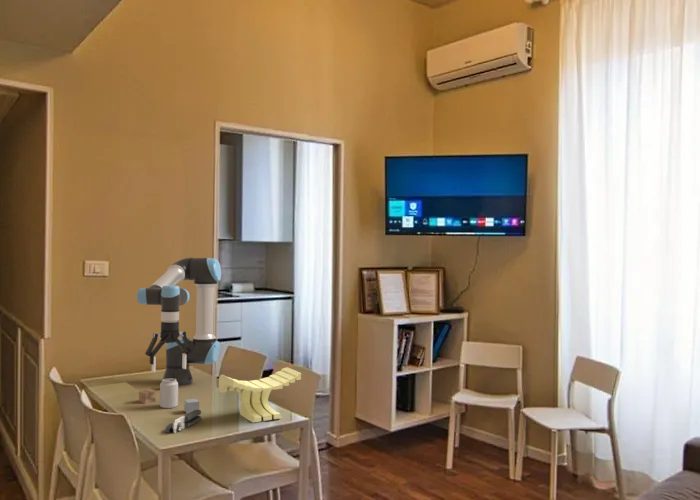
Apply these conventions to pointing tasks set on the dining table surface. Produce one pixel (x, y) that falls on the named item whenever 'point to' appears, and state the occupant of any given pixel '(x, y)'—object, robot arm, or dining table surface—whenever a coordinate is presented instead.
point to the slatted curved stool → (258, 393)
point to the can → (168, 393)
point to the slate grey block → (191, 405)
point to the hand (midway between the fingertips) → (169, 370)
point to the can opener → (184, 422)
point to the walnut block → (147, 396)
